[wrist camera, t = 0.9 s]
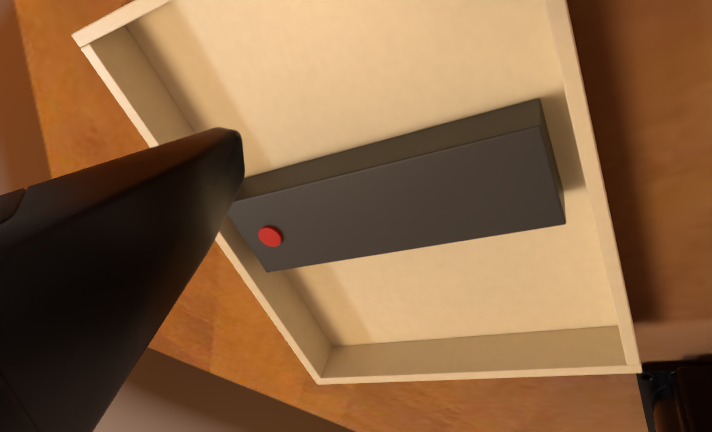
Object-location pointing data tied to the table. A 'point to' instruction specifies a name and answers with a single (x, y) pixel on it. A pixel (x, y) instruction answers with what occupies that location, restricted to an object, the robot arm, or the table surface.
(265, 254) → the remote
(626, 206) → the table surface
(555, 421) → the table surface
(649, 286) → the table surface
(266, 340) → the table surface
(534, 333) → the tray
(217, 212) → the robot arm
